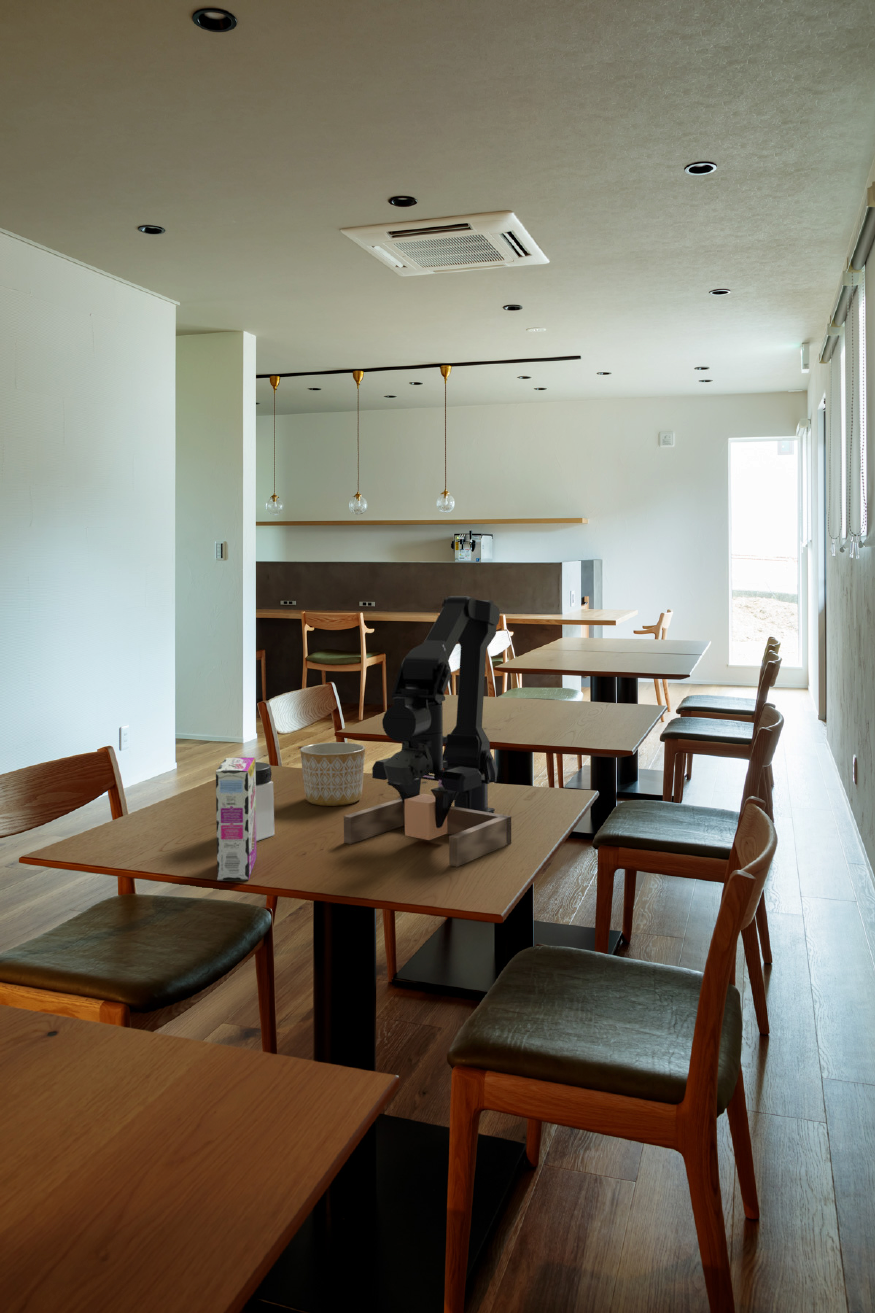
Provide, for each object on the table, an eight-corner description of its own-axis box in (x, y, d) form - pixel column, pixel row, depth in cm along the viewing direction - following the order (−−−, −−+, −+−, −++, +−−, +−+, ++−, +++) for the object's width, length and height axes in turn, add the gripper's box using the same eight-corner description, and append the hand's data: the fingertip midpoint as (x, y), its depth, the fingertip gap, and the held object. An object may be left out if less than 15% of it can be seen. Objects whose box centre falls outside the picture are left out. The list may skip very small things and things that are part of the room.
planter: (377, 802, 188) (377, 749, 187) (319, 811, 181) (318, 756, 180) (346, 790, 199) (345, 740, 198) (290, 798, 192) (289, 746, 191)
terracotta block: (423, 828, 163) (422, 793, 162) (447, 833, 160) (447, 797, 159) (404, 835, 159) (404, 799, 158) (429, 840, 156) (428, 803, 155)
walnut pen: (402, 822, 173) (401, 797, 172) (511, 843, 159) (511, 816, 159) (344, 842, 160) (343, 816, 160) (457, 866, 147) (457, 838, 146)
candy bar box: (251, 881, 141) (248, 770, 140) (216, 882, 141) (213, 771, 139) (259, 858, 152) (256, 755, 151) (226, 859, 152) (223, 756, 150)
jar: (279, 838, 163) (277, 768, 162) (231, 845, 160) (229, 773, 158) (264, 826, 171) (263, 759, 170) (219, 832, 168) (216, 764, 166)
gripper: (349, 733, 157) (351, 827, 158) (442, 744, 146) (443, 845, 147) (392, 724, 166) (393, 813, 167) (483, 734, 155) (483, 829, 156)
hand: (426, 825), depth 159 cm, fingers closed on terracotta block, 5 cm apart
